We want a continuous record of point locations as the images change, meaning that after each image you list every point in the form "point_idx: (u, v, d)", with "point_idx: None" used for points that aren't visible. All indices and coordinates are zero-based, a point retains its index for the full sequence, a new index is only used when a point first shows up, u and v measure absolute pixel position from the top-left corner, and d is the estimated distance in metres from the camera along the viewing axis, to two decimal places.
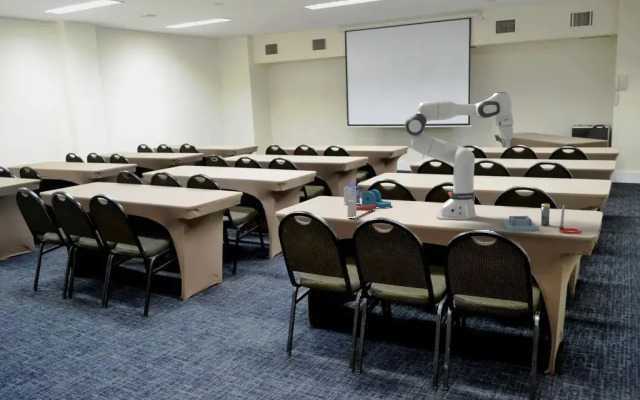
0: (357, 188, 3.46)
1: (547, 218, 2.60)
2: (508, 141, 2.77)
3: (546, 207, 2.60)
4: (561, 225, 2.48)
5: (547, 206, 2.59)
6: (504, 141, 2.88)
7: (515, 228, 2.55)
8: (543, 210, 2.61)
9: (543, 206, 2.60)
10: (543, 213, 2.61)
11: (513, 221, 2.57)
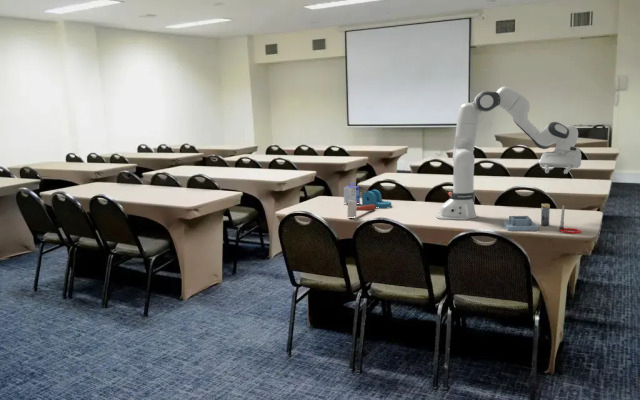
0: (357, 188, 3.46)
1: (547, 218, 2.60)
2: (570, 168, 2.64)
3: (546, 207, 2.60)
4: (561, 225, 2.48)
5: (547, 206, 2.59)
6: None
7: (515, 228, 2.55)
8: (543, 210, 2.61)
9: (543, 206, 2.60)
10: (543, 213, 2.61)
11: (513, 221, 2.57)
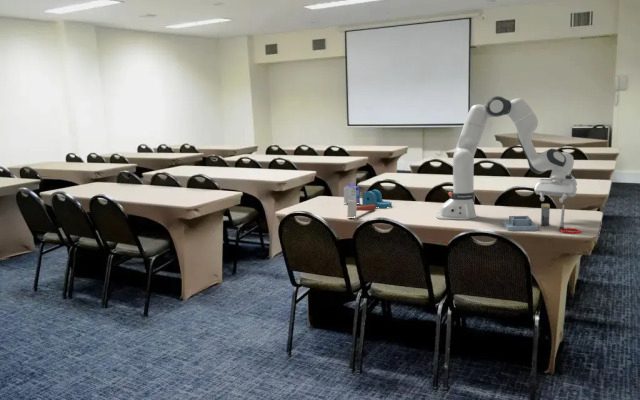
0: (357, 188, 3.46)
1: (547, 218, 2.60)
2: (565, 196, 2.63)
3: (546, 207, 2.60)
4: (561, 225, 2.48)
5: (547, 206, 2.59)
6: None
7: (515, 228, 2.55)
8: (543, 210, 2.61)
9: (543, 206, 2.60)
10: (543, 213, 2.61)
11: (513, 221, 2.57)
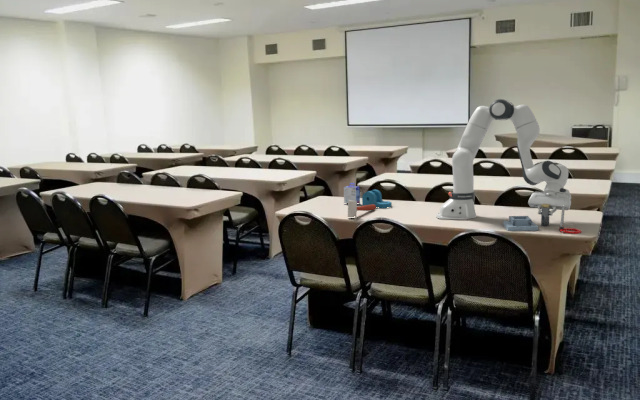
0: (357, 188, 3.46)
1: (547, 217, 2.60)
2: (555, 209, 2.60)
3: (546, 207, 2.60)
4: (561, 225, 2.48)
5: (547, 206, 2.59)
6: None
7: (515, 228, 2.55)
8: (543, 210, 2.61)
9: (543, 206, 2.60)
10: (543, 213, 2.61)
11: (513, 221, 2.57)
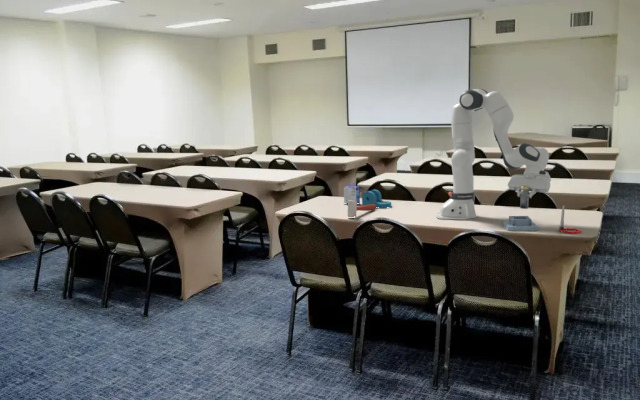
0: (357, 188, 3.46)
1: (526, 200, 2.58)
2: (534, 192, 2.57)
3: (525, 189, 2.57)
4: (561, 225, 2.48)
5: (526, 188, 2.57)
6: (519, 191, 2.62)
7: (515, 228, 2.55)
8: (522, 192, 2.58)
9: (522, 188, 2.58)
10: (522, 195, 2.58)
11: (513, 221, 2.57)
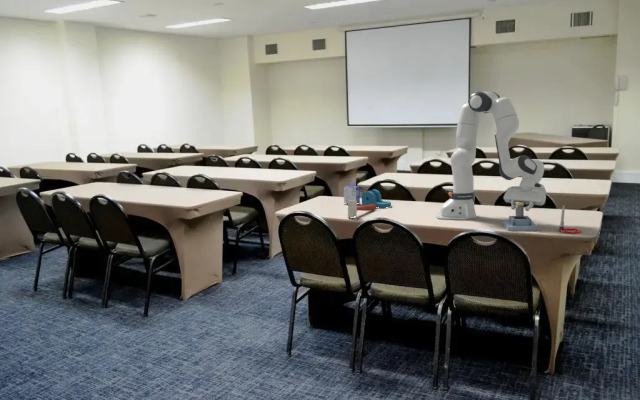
0: (357, 188, 3.46)
1: (522, 216, 2.58)
2: (532, 205, 2.57)
3: (520, 205, 2.57)
4: (561, 225, 2.48)
5: (521, 204, 2.57)
6: (513, 204, 2.63)
7: (515, 228, 2.55)
8: (517, 208, 2.59)
9: (517, 204, 2.58)
10: (517, 211, 2.59)
11: (513, 221, 2.57)
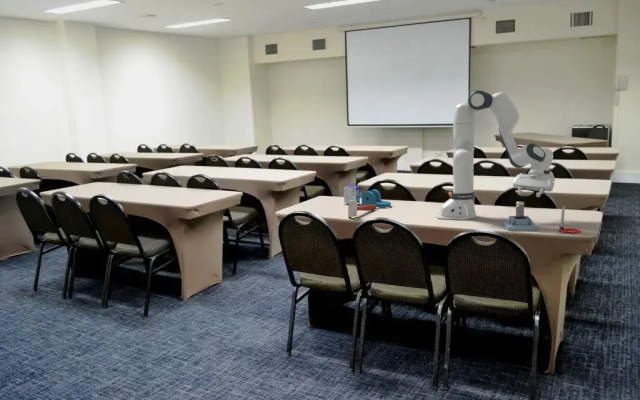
0: (357, 188, 3.46)
1: (522, 216, 2.59)
2: (542, 191, 2.65)
3: (520, 205, 2.58)
4: (561, 225, 2.48)
5: (521, 204, 2.58)
6: (520, 190, 2.73)
7: (515, 228, 2.55)
8: (517, 208, 2.59)
9: (517, 204, 2.58)
10: (517, 211, 2.59)
11: (513, 221, 2.57)
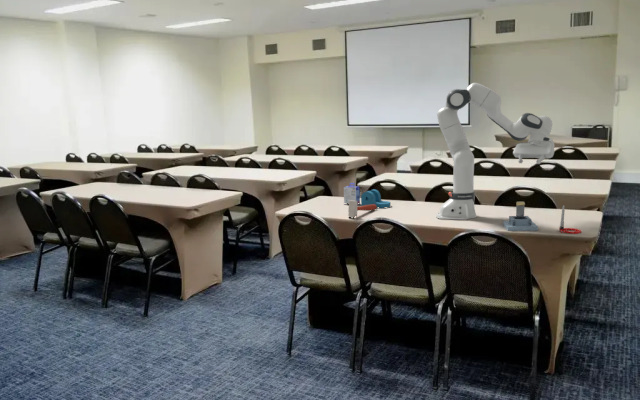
0: (357, 188, 3.46)
1: (522, 216, 2.58)
2: (543, 158, 2.65)
3: (521, 205, 2.58)
4: (561, 225, 2.48)
5: (522, 204, 2.57)
6: (520, 158, 2.73)
7: (515, 228, 2.55)
8: (517, 208, 2.59)
9: (518, 204, 2.58)
10: (518, 211, 2.59)
11: (513, 221, 2.57)
